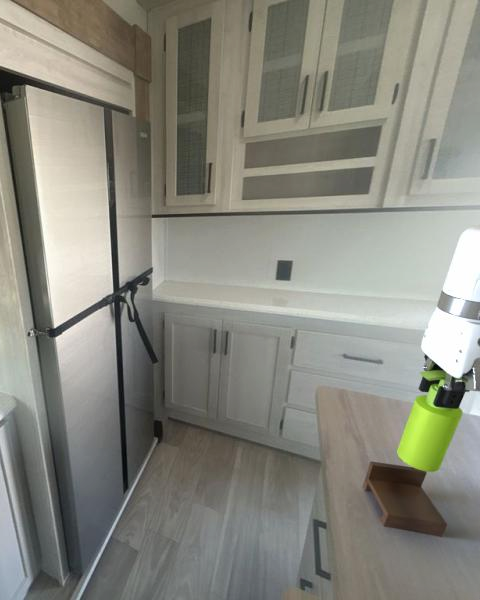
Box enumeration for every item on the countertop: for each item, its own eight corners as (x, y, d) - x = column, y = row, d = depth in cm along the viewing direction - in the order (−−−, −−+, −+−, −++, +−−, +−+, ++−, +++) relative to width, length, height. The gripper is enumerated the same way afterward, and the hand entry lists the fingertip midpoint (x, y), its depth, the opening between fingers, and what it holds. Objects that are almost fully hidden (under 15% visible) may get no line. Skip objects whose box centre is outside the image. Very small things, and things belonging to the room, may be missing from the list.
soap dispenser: (383, 446, 67) (410, 363, 60) (422, 447, 66) (455, 363, 59) (405, 470, 62) (438, 383, 55) (448, 472, 61) (487, 384, 53)
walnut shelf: (411, 499, 71) (423, 468, 67) (439, 542, 63) (454, 510, 60) (361, 490, 74) (370, 461, 70) (381, 530, 66) (393, 499, 62)
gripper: (556, 331, 43) (503, 437, 50) (466, 287, 58) (434, 374, 65) (481, 328, 46) (440, 429, 53) (412, 286, 60) (387, 370, 67)
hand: (437, 398), depth 59 cm, fingers closed on soap dispenser, 3 cm apart
